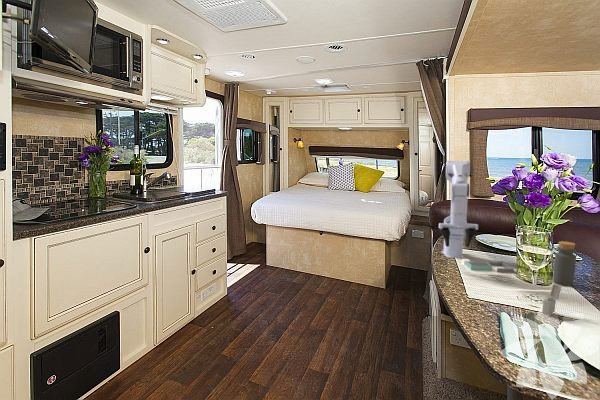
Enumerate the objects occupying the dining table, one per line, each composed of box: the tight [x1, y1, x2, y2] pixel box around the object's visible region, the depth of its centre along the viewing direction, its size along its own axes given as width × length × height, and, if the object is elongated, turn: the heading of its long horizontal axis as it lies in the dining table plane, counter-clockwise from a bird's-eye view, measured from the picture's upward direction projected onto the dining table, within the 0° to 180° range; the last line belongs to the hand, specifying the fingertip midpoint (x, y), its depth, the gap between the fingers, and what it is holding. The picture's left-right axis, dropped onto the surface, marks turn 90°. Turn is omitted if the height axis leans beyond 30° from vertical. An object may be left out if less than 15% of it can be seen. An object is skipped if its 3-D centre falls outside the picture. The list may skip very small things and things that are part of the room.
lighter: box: [541, 283, 562, 316], centre depth 97 cm, size 7×2×8 cm, turn 122°
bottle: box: [552, 240, 577, 287], centre depth 118 cm, size 6×6×15 cm
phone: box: [466, 261, 492, 271], centre depth 133 cm, size 8×5×2 cm, turn 83°
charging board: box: [459, 258, 518, 276], centre depth 133 cm, size 16×14×2 cm
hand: (457, 246), depth 133 cm, fingers open, 7 cm apart
